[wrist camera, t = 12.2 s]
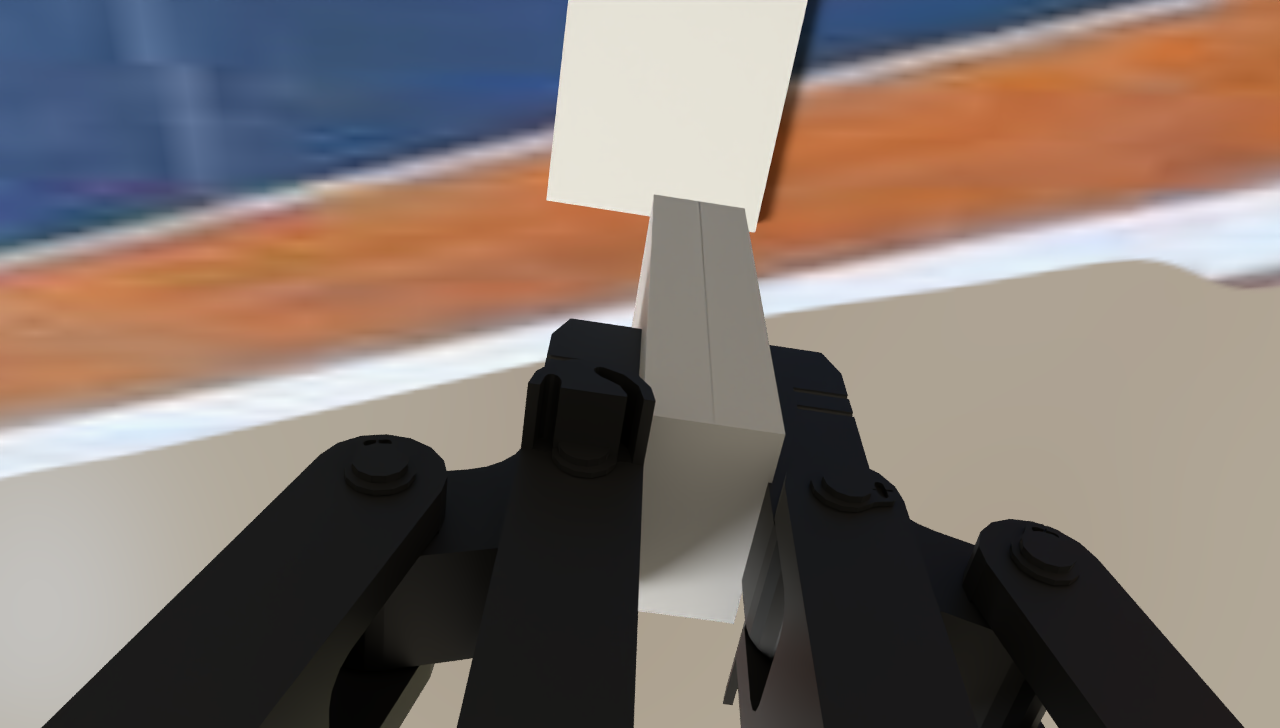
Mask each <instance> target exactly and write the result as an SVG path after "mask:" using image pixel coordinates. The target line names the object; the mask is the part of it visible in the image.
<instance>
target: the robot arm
mask: <svg viewBox="0 0 1280 728" xmlns="http://www.w3.org/2000/svg"><path fill="white" fill-rule="evenodd" d="M847 396H848V395H847V392H846V388H845V385H844V381H843V378H842V375H841V373H840V372H839V371H838V370H837V369H836V368H835V367H834V366H833V365H832V364H831V363H830V362H829V360H828V359H827V358H826V357H825V356H824V355H823V354H822V353H819V352H812V351H805V350H799V349H792V348H786V347H778V346H771V345H769V341H768V335H767V330H766V325H765V319H764V313H763V307H762V302H761V296H760V291H759V285H758V280H757V274H756V268H755V263H754V257H753V252H752V246H751V241H750V235H749V229H748V224H747V218H746V213H745V208H739V207H733V206H727V205H720V204H714V203H707V202H701V201H694V200H688V199H681V198H675V197H668V196H662V195H655V194H654V196H653V202H652V208H651V214H650V220H649V226H648V232H647V238H646V244H645V250H644V256H643V262H642V268H641V274H640V280H639V286H638V292H637V298H636V304H635V310H634V316H633V322H632V327H625V326H618V325H612V324H605V323H598V322H591V321H584V320H578V319H570V320H568V321H567V322H566V323H565V324H563V325H562V326H561V327H560V328H559V329H557V330H556V331H555V332H554V333H552V336H551V340H550V345H549V349H548V353H547V358H546V362H545V367H543V368H541V369H539V370H537V371H536V372H535V373H534V375H533V377H532V378H531V379H530V381H529V382H528V389H527V398H526V407H525V417H524V426H523V435H522V444H521V449H520V450H519V451H518V452H517V453H516V454H515V455H513V456H511V457H509V458H508V459H506V460H504V461H502V462H499V463H496V464H493V465H490V466H487V467H481V468H475V469H468V470H455V471H446V467H445V463H444V460H443V459H442V458H441V457H440V456H439V455H438V454H437V453H436V452H435V451H434V450H433V449H432V448H431V447H429V446H426V445H424V444H422V443H420V442H418V441H415V440H413V439H411V438H405V437H399V436H393V435H387V434H386V435H369V436H359V437H356V438H353V439H349V440H346V441H343V442H339V443H337V444H335V445H334V446H332V447H331V448H330V449H328V450H327V451H325V452H323V453H322V454H320V455H319V456H318V457H317V458H316V459H315V460H314V461H313V462H312V463H311V464H310V465H309V466H308V467H307V468H306V469H305V470H304V471H303V472H302V473H301V474H300V475H299V476H298V477H297V478H296V479H295V480H294V481H293V482H292V483H291V484H290V485H289V486H288V487H287V488H286V489H285V490H284V491H283V492H282V493H280V495H278V496H277V498H275V499H274V500H273V501H272V502H271V503H270V504H269V505H268V506H267V507H266V508H265V509H264V510H263V511H262V512H261V513H260V514H259V515H258V516H257V517H256V518H255V519H254V520H253V521H252V522H251V523H250V524H249V525H248V526H247V527H246V528H245V529H244V530H243V531H242V532H241V533H240V534H239V535H238V536H237V537H236V538H235V539H234V540H233V541H231V542H230V544H229V545H228V546H226V547H225V548H224V550H222V551H221V552H220V553H219V554H218V555H217V556H216V557H215V558H214V559H213V560H212V561H211V562H210V563H209V564H208V565H207V566H206V567H205V568H204V569H203V570H202V571H201V572H200V573H199V574H198V575H197V576H196V577H195V578H194V579H193V580H192V581H191V582H190V583H189V584H188V585H187V586H186V587H185V588H184V589H183V590H181V592H179V593H178V594H177V595H176V596H175V597H174V598H173V599H172V600H171V601H170V602H169V603H168V604H167V605H166V606H165V607H164V608H163V609H162V610H161V611H160V612H159V613H158V614H157V615H156V616H155V617H154V618H153V619H152V620H151V621H150V622H149V623H148V624H147V625H146V626H145V627H144V628H143V629H142V630H141V631H140V632H139V633H138V634H137V635H136V636H135V637H134V638H133V639H131V641H130V642H128V644H127V645H125V646H124V647H123V648H122V649H121V651H119V652H118V653H117V654H116V655H115V656H114V657H113V658H112V659H111V660H110V661H109V662H108V663H107V664H106V665H105V666H104V667H103V668H102V669H101V670H100V671H99V672H98V673H97V674H96V675H95V676H94V677H93V678H92V679H91V680H90V681H89V682H88V683H87V684H86V685H85V686H84V687H83V688H82V689H80V691H78V692H77V693H76V695H74V697H72V698H71V699H70V700H69V701H68V702H67V703H66V704H65V705H64V706H63V707H62V708H61V709H60V710H59V711H58V712H57V713H56V714H55V715H54V716H53V717H52V718H51V719H50V720H49V721H48V722H47V723H46V724H45V725H44V726H43V727H42V728H399V727H400V726H401V724H402V723H403V721H404V719H405V718H406V716H407V714H408V713H409V711H410V709H411V708H412V706H413V704H414V703H415V701H416V699H417V698H418V696H419V695H420V693H421V691H422V690H423V688H424V687H425V685H426V683H427V682H428V680H429V678H430V676H431V673H432V670H433V667H434V664H435V663H441V662H449V661H456V660H463V659H470V658H473V660H472V664H471V668H470V672H469V677H468V682H467V686H466V690H465V694H464V699H463V703H462V708H461V712H460V716H459V720H458V725H457V728H634V727H633V726H634V703H635V677H636V676H635V675H636V651H637V625H638V611H643V612H651V613H658V614H665V615H673V616H680V617H688V618H695V619H704V620H710V621H718V622H726V623H733V624H734V621H735V617H736V613H737V609H738V606H739V602H740V599H741V595H742V591H743V601H744V613H745V623H744V626H743V629H742V633H741V637H740V640H739V644H738V647H737V651H736V654H735V658H734V662H733V665H732V669H731V672H730V676H729V679H728V683H727V686H726V691H725V696H724V701H723V704H729V705H733V701H734V698H735V694H736V691H737V689H738V693H739V707H740V721H741V728H1045V727H1044V725H1043V724H1042V722H1041V719H1042V717H1043V715H1044V714H1045V712H1046V710H1047V711H1048V713H1049V714H1050V716H1051V717H1052V719H1053V720H1054V722H1055V723H1056V725H1057V726H1058V728H1244V727H1243V726H1242V724H1241V723H1240V722H1239V721H1238V720H1237V719H1236V717H1235V716H1234V715H1233V714H1232V713H1231V712H1230V711H1229V709H1228V708H1227V707H1226V706H1225V705H1224V704H1223V703H1222V701H1221V700H1220V699H1219V698H1218V697H1217V696H1216V694H1215V693H1214V692H1213V691H1212V690H1211V689H1210V688H1209V686H1208V685H1206V683H1205V682H1204V681H1203V680H1202V679H1201V677H1200V676H1199V675H1198V674H1197V673H1196V672H1195V670H1194V669H1193V668H1192V667H1191V666H1190V665H1189V664H1188V662H1187V661H1186V660H1185V659H1184V658H1183V657H1182V656H1181V654H1180V653H1179V652H1178V651H1177V650H1176V649H1175V647H1174V646H1173V645H1172V644H1171V643H1170V642H1169V640H1168V639H1167V638H1166V637H1165V636H1164V635H1163V634H1162V632H1161V631H1160V630H1159V629H1158V628H1157V627H1156V626H1155V624H1154V623H1153V622H1152V621H1151V620H1150V619H1149V617H1148V616H1147V615H1146V614H1145V613H1144V612H1143V611H1142V609H1141V608H1140V607H1139V606H1138V605H1137V604H1136V602H1135V601H1134V600H1133V599H1132V598H1131V597H1130V596H1129V594H1128V593H1127V592H1126V591H1125V590H1124V589H1123V588H1122V587H1121V585H1120V584H1119V583H1118V582H1117V581H1116V579H1115V578H1114V577H1113V576H1112V575H1111V574H1110V573H1109V571H1108V570H1107V569H1106V568H1105V567H1104V566H1103V565H1102V564H1101V562H1100V561H1099V560H1098V559H1097V558H1096V557H1095V556H1094V555H1093V554H1092V553H1090V552H1089V551H1088V550H1087V549H1086V548H1085V547H1084V546H1082V545H1081V544H1080V543H1079V542H1077V541H1075V540H1074V539H1072V538H1070V537H1068V536H1066V535H1065V534H1063V533H1061V532H1060V531H1058V530H1056V529H1053V528H1051V527H1048V526H1044V525H1043V524H1038V523H1035V522H1031V521H1023V520H1014V519H1008V520H1002V521H997V522H992V523H990V524H989V525H988V526H987V527H986V528H984V529H983V530H982V531H981V532H980V535H979V537H978V539H977V542H976V544H975V545H973V544H970V543H967V542H964V541H962V540H959V539H956V538H953V537H950V536H947V535H944V534H942V533H939V532H936V531H933V530H931V529H929V528H926V527H924V526H922V525H919V524H917V523H915V522H914V521H912V520H910V518H909V515H908V512H907V509H906V506H905V503H904V501H903V499H902V497H901V496H900V494H899V492H898V491H897V489H896V488H895V486H894V485H892V484H891V483H890V482H889V481H888V480H886V479H885V478H884V477H883V476H881V475H880V474H879V473H877V472H875V471H873V470H871V469H869V465H868V462H867V459H866V455H865V452H864V449H863V446H862V442H861V439H860V435H859V432H858V428H857V425H856V422H855V418H854V417H852V414H853V411H852V408H851V405H850V401H849V399H847Z"/></svg>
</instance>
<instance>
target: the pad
mask: <svg viewBox="0 0 1280 728" xmlns="http://www.w3.org/2000/svg"><path fill="white" fill-rule="evenodd" d="M807 1H808V0H568V9H567V18H566V27H565V37H564V46H563V55H562V64H561V73H560V82H559V91H558V100H557V109H556V118H555V127H554V136H553V146H552V155H551V164H550V173H549V182H548V191H547V200H548V201H554V202H561V203H567V204H574V205H580V206H587V207H593V208H600V209H606V210H613V211H619V212H626V213H632V214H639V215H645V216H650V214H651V208H652V202H653V196H654V194H655V195H662V196H668V197H675V198H681V199H688V200H694V201H701V202H707V203H714V204H720V205H727V206H733V207H739V208H745V213H746V218H747V224H748V229H749V232H755V230H756V226H757V221H758V217H759V213H760V208H761V204H762V199H763V195H764V191H765V186H766V182H767V177H768V173H769V169H770V164H771V160H772V155H773V151H774V147H775V142H776V138H777V133H778V129H779V125H780V120H781V116H782V111H783V107H784V102H785V98H786V94H787V89H788V85H789V80H790V76H791V72H792V67H793V63H794V58H795V54H796V50H797V45H798V41H799V36H800V32H801V28H802V23H803V19H804V14H805V10H806V6H807Z"/></svg>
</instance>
